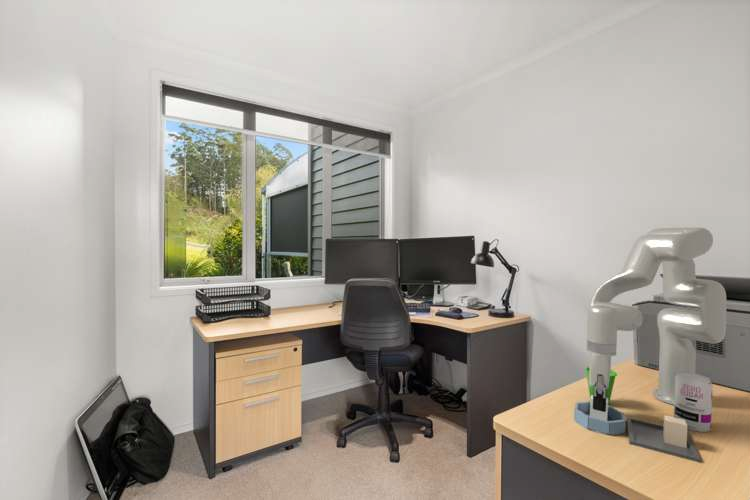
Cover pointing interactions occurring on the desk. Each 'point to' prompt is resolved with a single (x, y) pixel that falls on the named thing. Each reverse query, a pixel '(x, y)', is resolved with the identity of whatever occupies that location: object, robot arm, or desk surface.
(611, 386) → the cup
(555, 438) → the desk surface
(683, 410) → the supplement can
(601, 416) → the white block
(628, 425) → the tray
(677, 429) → the beige rectangular block
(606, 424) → the bowl
